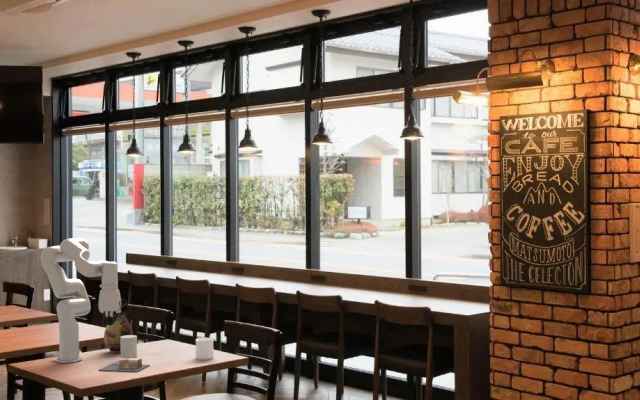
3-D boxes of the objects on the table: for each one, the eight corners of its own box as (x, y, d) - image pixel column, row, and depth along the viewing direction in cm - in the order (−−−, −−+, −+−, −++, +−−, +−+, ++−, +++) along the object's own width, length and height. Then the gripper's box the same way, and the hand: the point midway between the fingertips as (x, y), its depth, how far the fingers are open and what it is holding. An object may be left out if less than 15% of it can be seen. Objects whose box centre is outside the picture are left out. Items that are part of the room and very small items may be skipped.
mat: (98, 370, 377) (98, 369, 377) (112, 364, 390) (112, 363, 390) (137, 372, 372) (137, 371, 372) (149, 365, 386) (149, 364, 386)
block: (118, 359, 380) (138, 360, 378) (122, 358, 384) (141, 358, 382) (118, 367, 380) (138, 368, 378) (122, 366, 384) (142, 366, 382)
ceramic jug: (124, 347, 435) (123, 293, 435) (138, 351, 423) (137, 295, 423) (96, 352, 423) (95, 296, 423) (109, 356, 412) (108, 299, 412)
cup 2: (201, 360, 396) (201, 341, 396) (191, 358, 404) (190, 339, 404) (217, 358, 403) (217, 339, 403) (206, 355, 410) (206, 336, 410)
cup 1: (132, 361, 397) (132, 338, 397) (118, 361, 398) (117, 337, 398) (139, 358, 405) (139, 335, 404) (125, 358, 406) (124, 335, 406)
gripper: (92, 287, 381) (92, 325, 381) (120, 288, 377) (121, 326, 377) (99, 286, 388) (100, 323, 388) (127, 286, 385) (128, 323, 385)
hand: (110, 324), depth 383 cm, fingers closed
